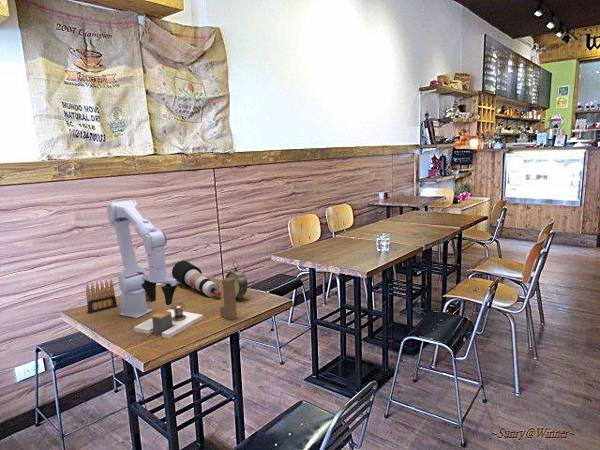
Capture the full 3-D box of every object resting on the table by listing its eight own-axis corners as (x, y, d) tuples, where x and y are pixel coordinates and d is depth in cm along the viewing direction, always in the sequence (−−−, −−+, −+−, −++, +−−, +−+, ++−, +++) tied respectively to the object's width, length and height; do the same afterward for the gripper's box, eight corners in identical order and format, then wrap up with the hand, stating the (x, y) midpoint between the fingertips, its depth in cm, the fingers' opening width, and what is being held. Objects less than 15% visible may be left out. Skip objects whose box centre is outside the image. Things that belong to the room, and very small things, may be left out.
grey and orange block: (153, 333, 150) (151, 315, 148) (164, 327, 154) (162, 310, 153) (162, 335, 148) (160, 317, 147) (172, 329, 152) (171, 311, 151)
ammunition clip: (115, 305, 178) (112, 277, 176) (117, 307, 177) (113, 278, 175) (87, 312, 172) (84, 283, 170) (88, 314, 170) (85, 284, 168)
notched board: (134, 331, 152) (133, 327, 152) (170, 312, 168) (169, 309, 168) (168, 338, 145) (168, 334, 145) (203, 318, 161) (202, 314, 161)
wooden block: (237, 317, 160) (234, 278, 158) (229, 320, 158) (226, 280, 156) (228, 313, 165) (225, 275, 163) (220, 315, 163) (217, 277, 160)
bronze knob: (169, 320, 157) (167, 307, 156) (178, 315, 161) (177, 302, 160) (179, 322, 155) (178, 308, 154) (189, 316, 159) (187, 304, 158)
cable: (215, 310, 181) (204, 293, 176) (178, 285, 205) (168, 269, 200) (233, 295, 185) (223, 277, 180) (195, 272, 210) (185, 256, 205)
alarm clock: (225, 297, 183) (222, 260, 180) (236, 294, 187) (233, 257, 184) (240, 303, 175) (237, 264, 172) (250, 299, 179) (248, 261, 176)
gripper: (181, 264, 150) (184, 301, 153) (150, 260, 157) (154, 296, 159) (166, 269, 144) (170, 308, 147) (135, 265, 151) (139, 302, 153)
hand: (160, 302), depth 152 cm, fingers open, 7 cm apart
